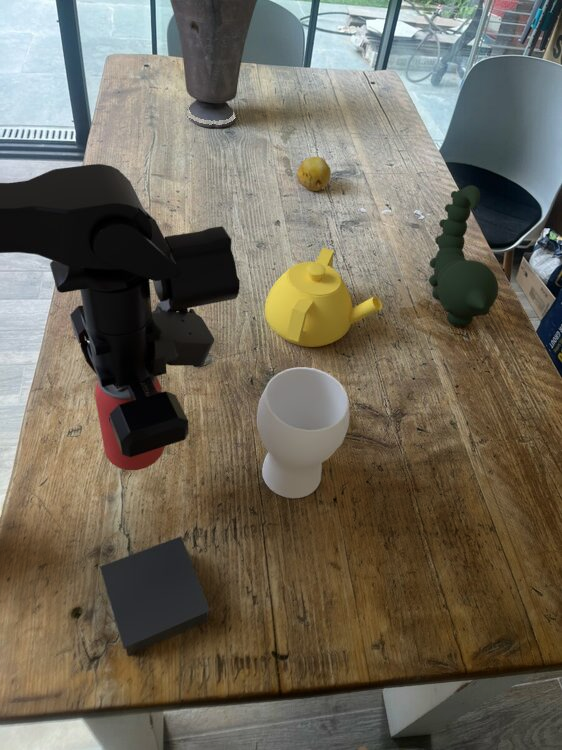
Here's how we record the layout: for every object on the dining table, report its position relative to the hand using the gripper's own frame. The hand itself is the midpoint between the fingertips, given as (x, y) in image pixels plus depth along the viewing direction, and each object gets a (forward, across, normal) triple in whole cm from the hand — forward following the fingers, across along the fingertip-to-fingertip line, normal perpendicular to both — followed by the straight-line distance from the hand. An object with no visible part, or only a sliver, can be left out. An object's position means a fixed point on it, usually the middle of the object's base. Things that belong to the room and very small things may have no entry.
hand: (132, 423), depth 63 cm
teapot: (+13, +18, -36) cm, 42 cm away
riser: (+13, -14, +3) cm, 19 cm away
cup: (+13, -6, -18) cm, 23 cm away
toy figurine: (+13, +16, -62) cm, 65 cm away
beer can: (+5, 0, 0) cm, 5 cm away
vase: (+13, +96, -49) cm, 108 cm away
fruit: (+13, +58, -57) cm, 82 cm away
